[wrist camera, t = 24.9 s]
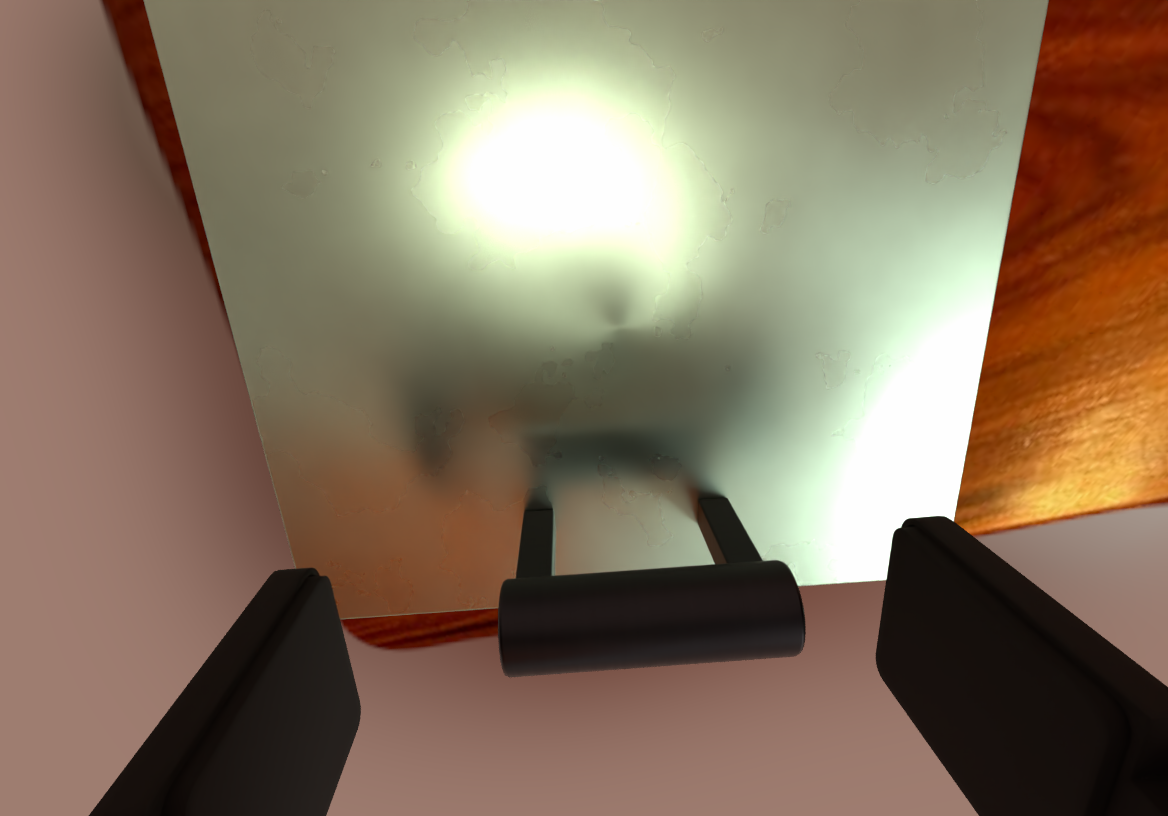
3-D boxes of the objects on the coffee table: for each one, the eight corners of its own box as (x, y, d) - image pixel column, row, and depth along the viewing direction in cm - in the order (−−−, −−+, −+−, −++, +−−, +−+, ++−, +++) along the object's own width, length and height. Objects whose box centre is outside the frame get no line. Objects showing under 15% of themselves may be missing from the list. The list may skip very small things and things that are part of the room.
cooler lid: (925, 558, 15) (1094, 721, 10) (321, 601, 15) (207, 789, 10) (1032, -80, 10) (1427, -319, 6) (160, -33, 10) (-191, -243, 5)
